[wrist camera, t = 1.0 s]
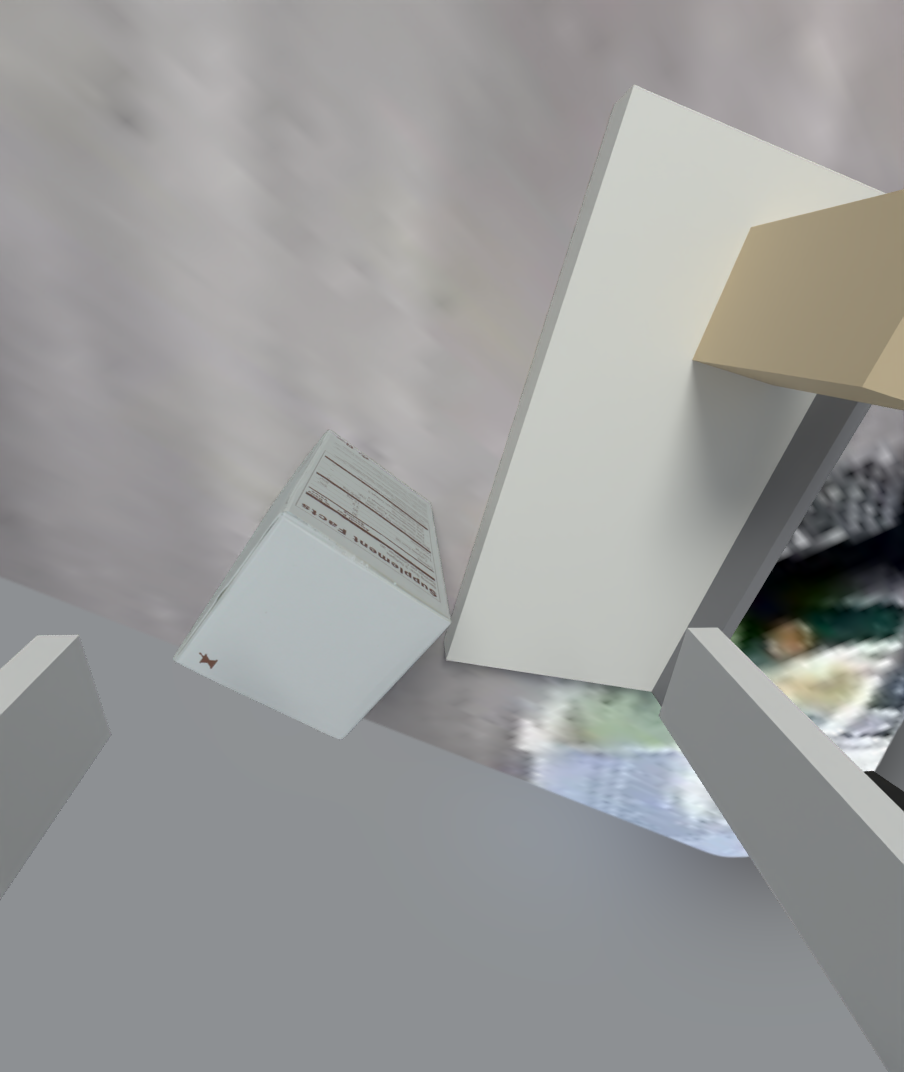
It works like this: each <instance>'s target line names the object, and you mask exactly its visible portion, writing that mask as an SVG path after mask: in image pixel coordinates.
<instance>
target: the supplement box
mask: <svg viewBox="0 0 904 1072" xmlns="http://www.w3.org/2000/svg"><path fill="white" fill-rule="evenodd" d="M451 623H452V622H451V618H450V612H449V606H448V600H447V594H446V589H445V583H444V576H443V571H442V565H441V560H440V554H439V548H438V542H437V537H436V530H435V525H434V518H433V513H432V508H431V503H430V502H429V501H428V500H426V499H425V498H423V497H422V496H420V495H419V494H418V493H416V492H415V491H414V490H412V489H411V488H409V487H408V486H407V485H405V484H404V483H403V482H401V481H400V480H398V479H397V478H396V477H394V476H393V475H391V474H390V473H389V472H388V471H386V470H385V469H383V468H382V467H381V466H379V465H378V464H377V463H375V462H374V461H372V460H371V459H370V458H368V457H367V456H366V455H364V454H363V453H362V452H360V451H359V450H357V449H356V448H355V447H353V446H352V445H351V444H349V443H348V442H346V441H345V440H344V439H342V438H341V437H340V436H338V435H337V434H335V433H334V432H333V431H331V430H328V431H327V432H326V433H325V434H324V435H323V437H322V438H321V439H320V440H319V442H318V443H317V444H316V446H315V447H314V448H313V449H312V451H311V452H310V453H309V455H308V456H307V457H306V458H305V460H304V461H303V462H302V464H301V465H300V466H299V468H298V469H297V470H296V472H295V473H294V474H293V476H292V477H291V478H290V480H289V481H288V483H287V484H286V486H285V487H284V488H283V490H282V491H281V493H280V494H279V496H278V497H277V499H276V500H275V501H274V503H273V504H272V506H271V507H270V509H269V511H268V512H267V514H266V515H265V517H264V518H263V520H262V521H261V523H260V525H259V526H258V528H257V529H256V531H255V532H254V534H253V535H252V537H251V538H250V540H249V542H248V543H247V545H246V546H245V548H244V549H243V551H242V552H241V554H240V555H239V557H238V558H237V560H236V562H235V563H234V565H233V566H232V568H231V569H230V571H229V572H228V574H227V575H226V577H225V578H224V580H223V582H222V583H221V585H220V586H219V588H218V589H217V591H216V592H215V594H214V595H213V597H212V598H211V600H210V601H209V603H208V604H207V606H206V608H205V609H204V611H203V612H202V614H201V615H200V617H199V618H198V620H197V621H196V623H195V624H194V626H193V628H192V629H191V631H190V632H189V634H188V635H187V637H186V638H185V640H184V641H183V643H182V644H181V646H180V648H179V649H178V651H177V652H176V654H175V655H174V657H173V659H174V661H175V662H177V663H179V664H181V665H183V666H185V667H187V668H189V669H190V670H192V671H194V672H196V673H198V674H200V675H202V676H204V677H206V678H208V679H210V680H212V681H214V682H216V683H218V684H220V685H223V686H225V687H227V688H229V689H231V690H233V691H235V692H237V693H240V694H242V695H244V696H246V697H248V698H250V699H252V700H254V701H256V702H259V703H261V704H263V705H265V706H267V707H269V708H272V709H274V710H276V711H278V712H280V713H282V714H284V715H286V716H288V717H291V718H293V719H295V720H297V721H299V722H301V723H304V724H306V725H308V726H309V727H312V728H314V729H316V730H318V731H320V732H322V733H324V734H327V735H329V736H331V737H334V738H337V739H339V740H342V739H344V738H345V737H346V736H347V735H348V734H349V733H350V732H351V730H353V728H354V727H355V726H356V725H357V724H358V723H359V722H360V721H361V720H362V719H363V718H364V717H365V716H366V714H367V713H368V712H369V711H370V710H371V709H372V708H373V707H374V706H375V705H376V704H377V703H378V702H379V701H380V700H381V699H382V697H383V696H384V695H385V694H386V693H387V692H388V691H389V690H390V689H391V688H392V687H393V686H394V685H395V684H396V682H397V681H398V680H399V679H400V678H401V677H402V676H403V675H404V674H405V673H406V672H407V671H408V670H409V668H410V667H411V666H412V665H413V664H414V663H415V662H416V661H417V660H418V659H419V658H420V657H421V656H422V655H423V654H424V652H425V651H426V650H427V649H428V648H429V647H430V646H431V645H432V644H433V643H434V642H435V641H436V640H437V639H438V637H439V636H440V635H441V634H442V633H443V632H444V631H445V630H446V629H447V628H448V627H449V626H450V625H451Z"/></svg>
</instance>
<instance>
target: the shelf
mask: <svg viewBox="0 0 904 1072" xmlns="http://www.w3.org/2000/svg"><path fill="white" fill-rule="evenodd" d="M883 194H886V193H884V192H881V191H879V190H877V189H874V188H872V187H870V186H868V185H865V184H863V183H861V182H858V181H856V180H854V179H851V178H849V177H847V176H844V175H842V174H840V173H837V172H835V171H833V170H830V169H828V168H826V167H824V166H821V165H819V164H817V163H814V162H812V161H810V160H807V159H805V158H803V157H800V156H798V155H796V154H793V153H791V152H789V151H786V150H784V149H782V148H780V147H777V146H775V145H773V144H770V143H768V142H766V141H763V140H761V139H759V138H756V137H754V136H752V135H749V134H747V133H745V132H743V131H740V130H738V129H736V128H733V127H731V126H729V125H726V124H724V123H722V122H719V121H717V120H715V119H712V118H710V117H708V116H705V115H703V114H701V113H699V112H696V111H694V110H692V109H689V108H687V107H685V106H682V105H680V104H678V103H675V102H673V101H671V100H668V99H666V98H664V97H661V96H659V95H657V94H655V93H652V92H650V91H648V90H645V89H643V88H641V87H638V86H636V85H633V86H632V87H631V88H630V89H629V90H628V91H627V92H626V93H625V94H624V95H623V96H622V97H621V98H620V99H619V100H618V101H617V102H616V103H615V104H614V107H613V110H612V113H611V116H610V119H609V123H608V126H607V129H606V132H605V135H604V138H603V141H602V145H601V148H600V151H599V154H598V157H597V160H596V164H595V167H594V170H593V173H592V176H591V179H590V182H589V186H588V189H587V192H586V195H585V198H584V201H583V204H582V208H581V211H580V214H579V217H578V220H577V223H576V226H575V230H574V233H573V236H572V239H571V242H570V245H569V248H568V252H567V255H566V258H565V261H564V264H563V267H562V270H561V274H560V277H559V280H558V283H557V286H556V289H555V292H554V296H553V299H552V302H551V305H550V308H549V311H548V315H547V318H546V321H545V324H544V327H543V330H542V333H541V337H540V340H539V343H538V346H537V349H536V352H535V355H534V359H533V362H532V365H531V368H530V371H529V374H528V377H527V381H526V384H525V387H524V390H523V393H522V396H521V399H520V403H519V406H518V409H517V412H516V415H515V418H514V421H513V425H512V428H511V431H510V434H509V437H508V440H507V443H506V447H505V450H504V453H503V456H502V459H501V462H500V466H499V469H498V472H497V475H496V478H495V481H494V484H493V488H492V491H491V494H490V497H489V500H488V503H487V506H486V510H485V513H484V516H483V519H482V522H481V525H480V528H479V532H478V535H477V538H476V541H475V544H474V547H473V550H472V554H471V557H470V560H469V563H468V566H467V569H466V572H465V576H464V579H463V582H462V585H461V588H460V591H459V594H458V598H457V601H456V604H455V607H454V610H453V613H452V617H451V622H452V623H451V625H450V626H449V627H448V629H447V632H446V635H445V639H444V647H445V655H446V660H449V661H455V662H462V663H468V664H475V665H481V666H488V667H494V668H501V669H507V670H514V671H520V672H527V673H533V674H540V675H546V676H553V677H559V678H566V679H572V680H579V681H585V682H592V683H598V684H605V685H611V686H618V687H624V688H631V689H637V690H643V691H650V692H652V693H653V695H654V696H655V698H656V699H657V701H658V702H659V704H660V705H661V707H662V704H663V701H664V698H665V695H666V692H667V689H668V686H669V683H670V680H671V677H672V673H673V670H674V667H675V664H676V661H677V658H678V655H679V652H680V649H681V646H682V643H683V640H684V637H685V633H686V630H687V628H717V627H718V628H719V629H720V630H721V631H722V632H723V633H724V634H725V635H726V636H727V637H728V638H729V639H730V638H731V637H732V635H733V633H734V632H735V630H736V628H737V627H738V625H739V623H740V622H741V620H742V618H743V617H744V615H745V614H746V612H747V610H748V609H749V607H750V605H751V604H752V602H753V600H754V599H755V597H756V595H757V594H758V592H759V590H760V589H761V587H762V585H763V584H764V582H765V580H766V579H767V577H768V575H769V574H770V572H771V570H772V569H773V567H774V566H775V564H776V562H777V561H778V559H779V557H780V556H781V554H782V552H783V551H784V549H785V547H786V546H787V544H788V542H789V541H790V539H791V537H792V536H793V534H794V532H795V531H796V529H797V527H798V526H799V524H800V522H801V521H802V519H803V518H804V516H805V514H806V513H807V511H808V509H809V508H810V506H811V504H812V503H813V501H814V499H815V498H816V496H817V494H818V493H819V491H820V489H821V488H822V486H823V484H824V483H825V481H826V479H827V478H828V476H829V474H830V473H831V471H832V470H833V468H834V466H835V465H836V463H837V461H838V460H839V458H840V456H841V455H842V453H843V451H844V450H845V448H846V446H847V445H848V443H849V441H850V440H851V438H852V436H853V435H854V433H855V431H856V430H857V428H858V426H859V425H860V423H861V422H862V420H863V418H864V417H865V415H866V413H867V412H868V410H869V408H870V407H871V405H872V404H868V403H862V402H857V401H852V400H847V399H842V398H836V397H831V396H826V395H821V394H816V393H810V392H805V391H800V390H795V389H790V388H785V387H779V386H774V385H771V384H767V383H764V382H761V381H758V380H755V379H751V378H748V377H745V376H742V375H739V374H735V373H732V372H729V371H726V370H723V369H720V368H716V367H713V366H710V365H707V364H704V363H700V362H697V361H694V360H692V359H693V357H694V355H695V352H696V350H697V348H698V346H699V343H700V341H701V339H702V337H703V334H704V332H705V330H706V328H707V325H708V323H709V321H710V318H711V316H712V314H713V312H714V309H715V307H716V305H717V303H718V300H719V298H720V296H721V294H722V291H723V289H724V287H725V285H726V282H727V280H728V278H729V276H730V273H731V271H732V269H733V267H734V264H735V262H736V260H737V257H738V255H739V253H740V251H741V248H742V246H743V244H744V242H745V239H746V237H747V235H748V233H749V230H750V228H751V227H754V226H758V225H762V224H766V223H770V222H774V221H778V220H782V219H786V218H790V217H794V216H798V215H802V214H806V213H810V212H814V211H818V210H822V209H826V208H831V207H835V206H839V205H843V204H847V203H851V202H855V201H859V200H863V199H867V198H871V197H875V196H879V195H883Z"/></svg>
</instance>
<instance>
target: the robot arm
mask: <svg viewBox="0 0 904 1072" xmlns="http://www.w3.org/2000/svg"><path fill="white" fill-rule="evenodd" d="M659 717H660V719H661V720H662V722H663V723H664V725H665V726H666V728H667V729H668V731H669V733H670V734H671V736H672V737H673V739H674V740H675V742H676V743H677V745H678V746H679V748H680V750H681V751H682V753H683V754H684V756H685V757H686V759H687V760H688V762H689V764H690V765H691V767H692V768H693V770H694V771H695V773H696V774H697V776H698V777H699V779H700V781H701V782H702V784H703V785H704V787H705V788H706V790H707V791H708V793H709V795H710V796H711V798H712V799H713V801H714V802H715V804H716V805H717V807H718V808H719V810H720V812H721V813H722V815H723V816H724V818H725V819H726V821H727V822H728V824H729V826H730V827H731V829H732V830H733V832H734V833H735V835H736V836H737V838H738V840H739V841H740V843H741V844H742V846H743V847H744V849H745V850H746V852H747V853H748V855H749V857H750V858H751V859H752V861H753V863H754V864H755V866H756V867H757V869H758V870H759V872H760V874H761V875H762V877H763V878H764V879H765V881H766V883H767V884H768V886H769V887H770V889H771V891H772V892H773V894H774V895H775V897H776V898H777V900H778V901H779V903H780V905H781V906H782V908H783V909H784V911H785V912H786V914H787V915H788V917H789V919H790V920H791V922H792V923H793V925H794V926H795V928H796V929H797V931H798V933H799V934H800V936H801V937H802V939H803V940H804V942H805V943H806V945H807V947H808V948H809V950H810V951H811V953H812V954H813V956H814V957H815V959H816V960H817V962H818V964H819V965H820V967H821V968H822V970H823V971H824V973H825V974H826V976H827V978H828V979H829V981H830V982H831V984H832V985H833V987H834V988H835V990H836V991H837V993H838V994H839V996H840V998H841V999H842V1001H843V1002H844V1004H845V1005H846V1007H847V1008H848V1010H849V1012H850V1013H851V1014H852V1016H853V1018H854V1019H855V1021H856V1022H857V1024H858V1026H859V1027H860V1029H861V1030H862V1032H863V1033H864V1035H865V1036H866V1038H867V1040H868V1041H869V1043H870V1044H871V1046H872V1047H873V1049H874V1050H875V1052H876V1053H877V1055H878V1057H879V1058H880V1060H881V1061H882V1063H883V1064H884V1066H885V1067H886V1069H887V1070H888V1072H904V792H903V791H902V790H900V789H899V788H898V787H896V786H894V785H893V784H891V783H890V782H889V781H887V780H886V779H884V778H883V777H881V776H880V775H878V774H877V773H875V772H874V771H865V772H863V771H862V770H861V769H860V768H859V767H858V766H857V765H856V764H855V763H854V762H853V761H852V760H851V759H850V758H849V757H848V756H847V755H846V754H845V753H844V752H843V751H842V750H841V749H840V748H839V747H838V746H837V745H836V744H835V743H834V742H833V741H832V740H831V739H830V738H829V737H828V736H827V735H826V734H825V733H824V732H823V731H822V730H821V729H820V728H819V727H818V726H817V725H816V724H815V723H814V722H813V721H812V720H811V719H810V718H809V717H808V716H807V715H806V714H805V713H804V712H803V711H802V710H800V709H799V708H798V707H797V706H796V705H795V704H794V703H793V702H792V701H791V700H790V699H789V698H788V697H787V696H786V695H785V694H784V693H783V692H782V691H781V690H780V689H779V688H778V687H777V686H776V685H775V684H774V683H773V682H772V681H771V680H770V679H769V678H768V677H767V676H766V675H765V674H764V673H763V672H762V671H761V670H760V669H759V668H758V667H757V666H756V665H755V664H754V663H753V662H752V661H751V660H750V659H749V658H748V657H747V656H746V655H745V654H744V653H743V652H742V651H741V650H740V649H739V648H738V647H737V646H736V645H735V644H734V643H733V642H732V641H731V640H730V639H729V638H728V637H727V636H726V635H725V634H724V633H723V632H722V631H721V630H720V629H719V628H718V627H717V628H687V630H686V633H685V637H684V640H683V643H682V646H681V649H680V652H679V655H678V658H677V661H676V664H675V667H674V670H673V673H672V677H671V680H670V683H669V686H668V689H667V692H666V695H665V698H664V701H663V704H662V707H661V710H660V714H659ZM111 735H112V734H111V731H110V728H109V725H108V722H107V719H106V716H105V713H104V710H103V707H102V704H101V701H100V698H99V694H98V691H97V688H96V685H95V682H94V679H93V676H92V673H91V670H90V667H89V664H88V661H87V658H86V655H85V651H84V648H83V646H82V642H81V639H80V636H79V635H38V636H36V637H35V638H34V639H33V640H32V641H31V642H30V643H29V644H27V645H26V646H25V647H24V648H23V649H22V650H21V651H20V652H19V653H17V654H16V655H15V656H14V657H13V658H12V659H11V660H10V661H9V662H8V663H7V664H6V665H4V666H3V667H2V668H1V669H0V900H1V898H2V897H3V895H4V894H5V892H6V891H7V889H8V888H9V886H10V885H11V883H12V882H13V880H14V879H15V877H16V876H17V875H18V873H19V872H20V870H21V869H22V867H23V865H24V864H25V863H26V861H27V860H28V858H29V857H30V855H31V854H32V852H33V851H34V849H35V848H36V846H37V845H38V843H39V842H40V840H41V839H42V837H43V836H44V834H45V833H46V832H47V830H48V829H49V827H50V826H51V824H52V823H53V821H54V820H55V818H56V817H57V815H58V814H59V812H60V811H61V809H62V808H63V806H64V805H65V803H66V802H67V800H68V799H69V797H70V796H71V794H72V793H73V791H74V790H75V788H76V787H77V785H78V784H79V783H80V781H81V779H82V778H83V777H84V775H85V774H86V772H87V771H88V769H89V768H90V766H91V765H92V763H93V762H94V760H95V759H96V757H97V756H98V754H99V753H100V751H101V750H102V748H103V747H104V745H105V744H106V743H107V741H108V740H109V738H110V737H111Z"/></svg>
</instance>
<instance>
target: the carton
mask: <svg viewBox="0 0 904 1072" xmlns="http://www.w3.org/2000/svg"><path fill="white" fill-rule="evenodd" d="M692 360H694V361H697V362H700V363H704V364H707V365H710V366H713V367H716V368H720V369H723V370H726V371H729V372H732V373H735V374H739V375H742V376H745V377H748V378H751V379H755V380H758V381H761V382H764V383H767V384H771V385H774V386H779V387H785V388H790V389H795V390H800V391H805V392H810V393H816V394H821V395H826V396H831V397H836V398H842V399H847V400H852V401H857V402H862V403H868V404H873V405H878V406H883V407H888V408H893V409H899V410H904V189H903V190H899V191H895V192H891V193H887V194H883V195H879V196H875V197H871V198H867V199H863V200H859V201H855V202H851V203H847V204H843V205H839V206H835V207H831V208H826V209H822V210H818V211H814V212H810V213H806V214H802V215H798V216H794V217H790V218H786V219H782V220H778V221H774V222H770V223H766V224H762V225H758V226H754V227H751V228H750V230H749V233H748V235H747V237H746V239H745V242H744V244H743V246H742V248H741V251H740V253H739V255H738V257H737V260H736V262H735V264H734V267H733V269H732V271H731V273H730V276H729V278H728V280H727V282H726V285H725V287H724V289H723V291H722V294H721V296H720V298H719V300H718V303H717V305H716V307H715V309H714V312H713V314H712V316H711V318H710V321H709V323H708V325H707V328H706V330H705V332H704V334H703V337H702V339H701V341H700V343H699V346H698V348H697V350H696V352H695V355H694V357H693V359H692Z"/></svg>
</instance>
